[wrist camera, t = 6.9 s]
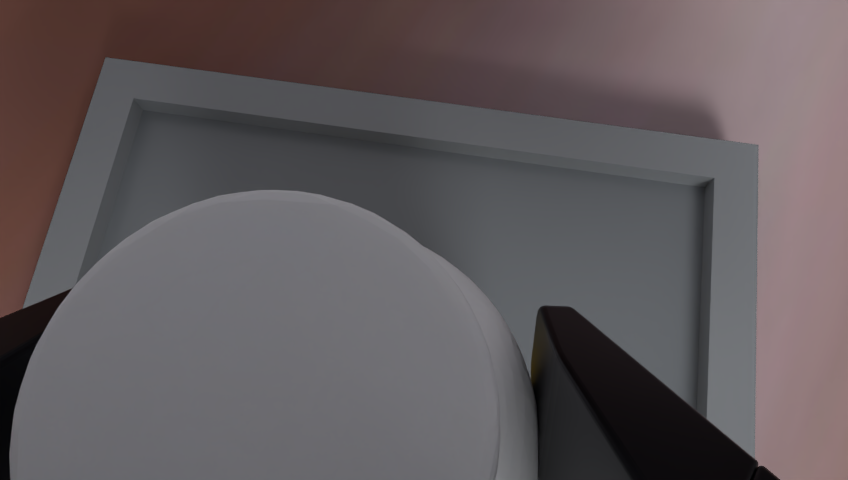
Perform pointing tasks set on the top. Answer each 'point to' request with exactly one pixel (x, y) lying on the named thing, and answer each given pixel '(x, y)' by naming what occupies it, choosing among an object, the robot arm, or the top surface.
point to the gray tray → (453, 206)
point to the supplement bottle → (275, 357)
